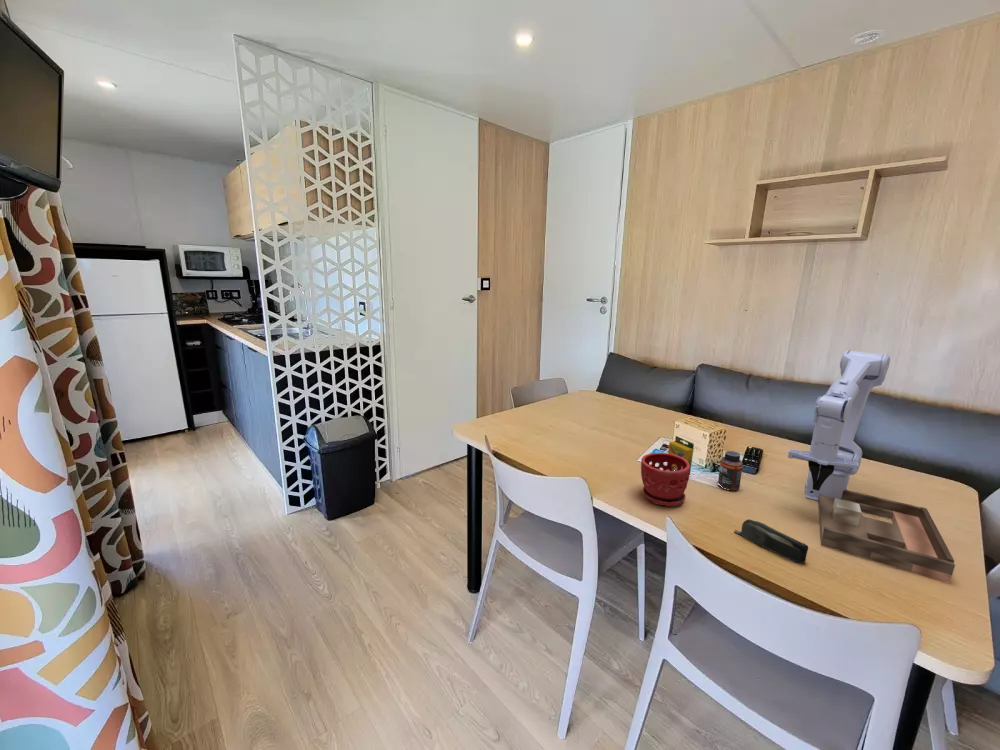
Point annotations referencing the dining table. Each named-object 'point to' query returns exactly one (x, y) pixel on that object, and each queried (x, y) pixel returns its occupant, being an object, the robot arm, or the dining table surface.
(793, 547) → the mobile phone
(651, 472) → the plant pot
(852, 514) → the block
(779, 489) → the dining table surface
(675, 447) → the crayon box
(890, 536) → the frame
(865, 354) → the robot arm
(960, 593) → the dining table surface
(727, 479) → the supplement bottle
